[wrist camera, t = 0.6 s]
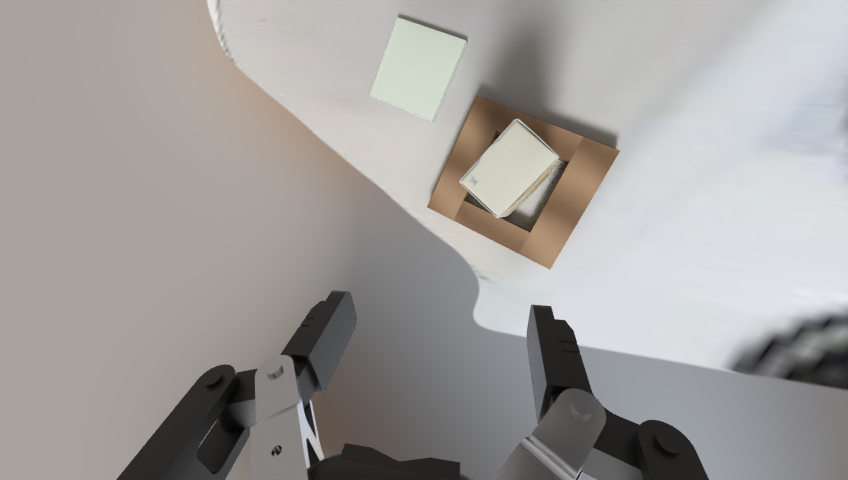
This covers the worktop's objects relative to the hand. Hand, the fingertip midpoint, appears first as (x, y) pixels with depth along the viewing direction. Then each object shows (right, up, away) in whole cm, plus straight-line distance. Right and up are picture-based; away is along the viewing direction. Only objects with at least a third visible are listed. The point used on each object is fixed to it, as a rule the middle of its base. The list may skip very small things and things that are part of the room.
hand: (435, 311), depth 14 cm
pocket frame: (+9, +10, +20) cm, 24 cm away
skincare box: (+9, +10, +20) cm, 24 cm away
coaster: (-1, +23, +22) cm, 32 cm away
